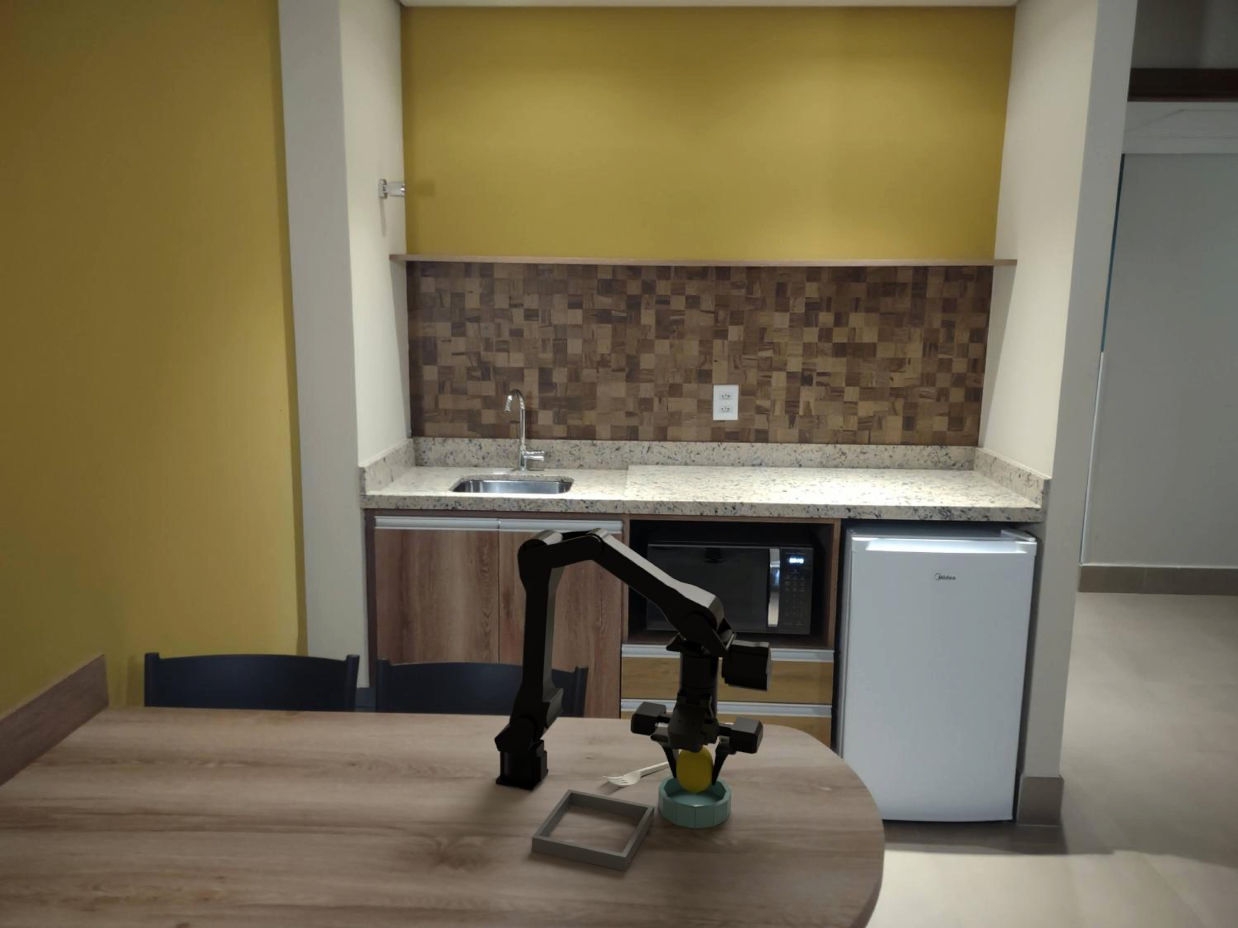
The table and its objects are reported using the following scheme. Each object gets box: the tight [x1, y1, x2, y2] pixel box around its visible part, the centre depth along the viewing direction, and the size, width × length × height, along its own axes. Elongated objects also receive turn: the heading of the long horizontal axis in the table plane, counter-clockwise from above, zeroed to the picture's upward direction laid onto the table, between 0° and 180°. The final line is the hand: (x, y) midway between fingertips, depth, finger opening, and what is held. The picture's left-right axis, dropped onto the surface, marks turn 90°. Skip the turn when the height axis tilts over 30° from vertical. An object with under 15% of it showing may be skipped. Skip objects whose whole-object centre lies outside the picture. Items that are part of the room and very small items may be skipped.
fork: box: [600, 760, 670, 788], centre depth 148 cm, size 3×20×2 cm, turn 126°
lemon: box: [676, 745, 714, 794], centre depth 136 cm, size 6×6×8 cm
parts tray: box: [531, 789, 655, 872], centre depth 130 cm, size 13×13×2 cm
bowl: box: [657, 774, 732, 829], centre depth 137 cm, size 10×10×3 cm
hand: (694, 780), depth 136 cm, fingers closed on lemon, 5 cm apart
